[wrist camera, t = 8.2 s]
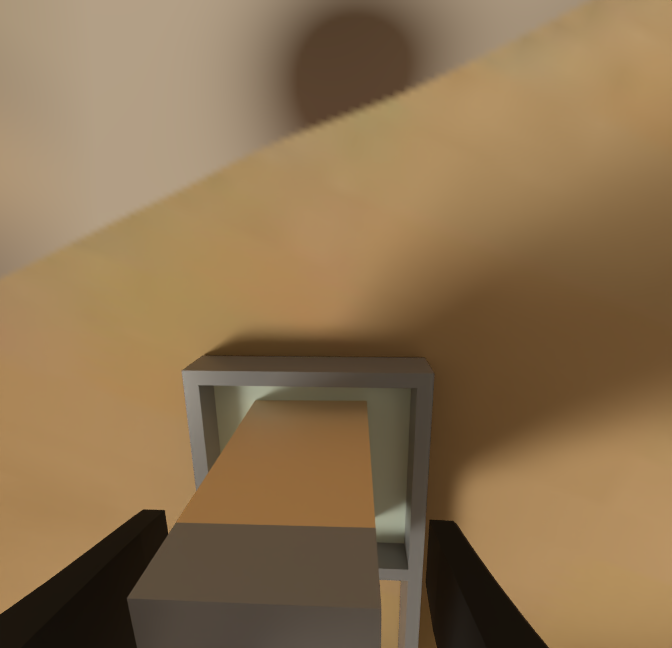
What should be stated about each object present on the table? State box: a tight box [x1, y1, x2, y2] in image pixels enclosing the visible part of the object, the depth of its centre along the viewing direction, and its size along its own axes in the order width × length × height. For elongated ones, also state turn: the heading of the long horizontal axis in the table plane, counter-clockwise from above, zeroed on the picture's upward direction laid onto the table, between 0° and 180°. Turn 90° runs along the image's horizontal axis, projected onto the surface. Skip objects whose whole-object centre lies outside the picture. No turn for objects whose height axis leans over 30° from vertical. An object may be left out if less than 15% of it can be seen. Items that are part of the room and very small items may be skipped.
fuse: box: [127, 400, 381, 648], centre depth 9 cm, size 5×4×7 cm
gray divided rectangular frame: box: [182, 356, 434, 648], centre depth 13 cm, size 16×8×2 cm, turn 0°
